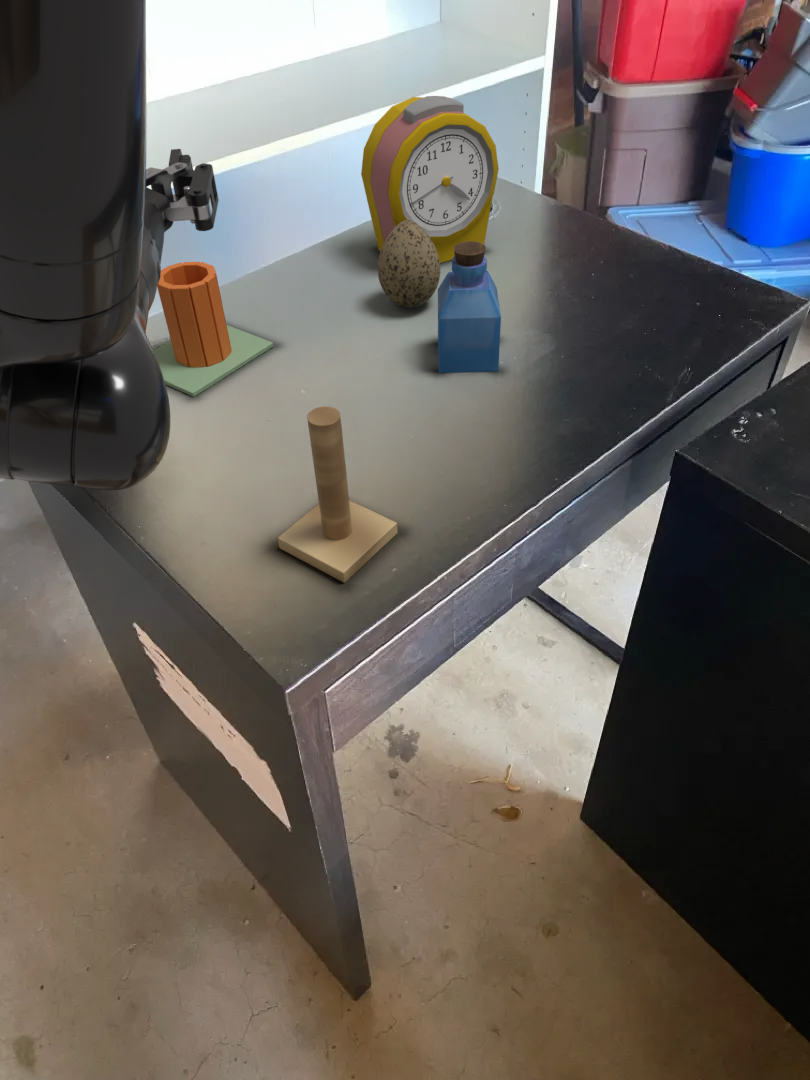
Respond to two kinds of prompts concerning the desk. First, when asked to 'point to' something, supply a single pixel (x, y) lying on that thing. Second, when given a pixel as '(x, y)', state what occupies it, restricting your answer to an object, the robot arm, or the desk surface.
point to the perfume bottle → (468, 314)
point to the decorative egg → (408, 265)
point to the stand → (334, 509)
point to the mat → (204, 377)
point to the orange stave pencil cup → (194, 313)
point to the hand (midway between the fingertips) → (121, 167)
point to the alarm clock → (430, 172)
